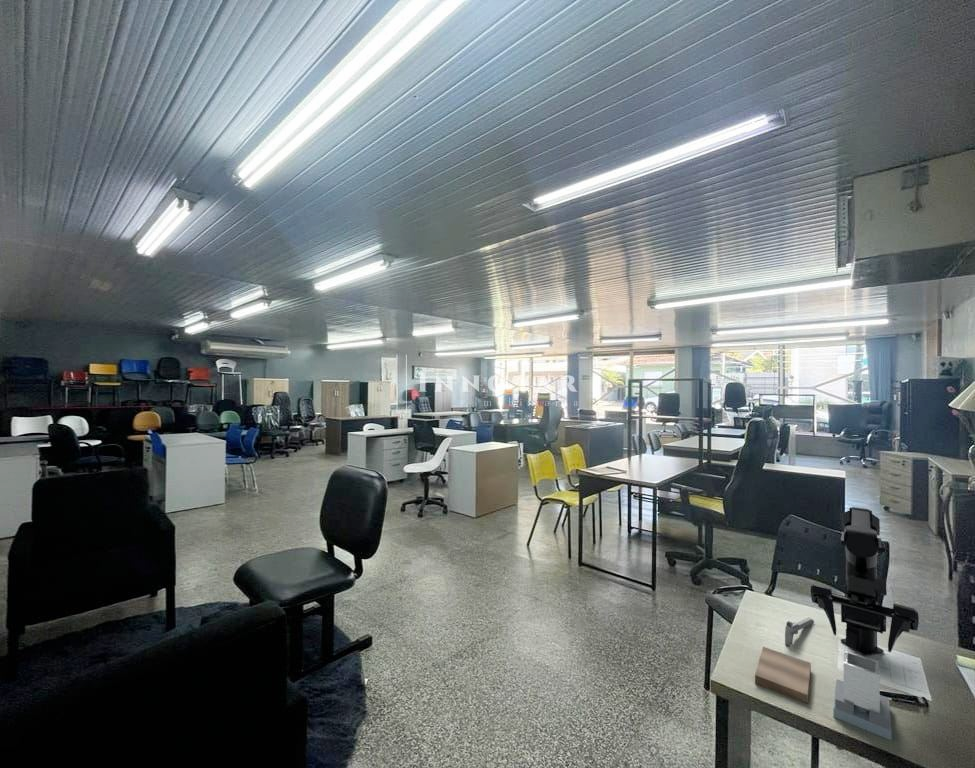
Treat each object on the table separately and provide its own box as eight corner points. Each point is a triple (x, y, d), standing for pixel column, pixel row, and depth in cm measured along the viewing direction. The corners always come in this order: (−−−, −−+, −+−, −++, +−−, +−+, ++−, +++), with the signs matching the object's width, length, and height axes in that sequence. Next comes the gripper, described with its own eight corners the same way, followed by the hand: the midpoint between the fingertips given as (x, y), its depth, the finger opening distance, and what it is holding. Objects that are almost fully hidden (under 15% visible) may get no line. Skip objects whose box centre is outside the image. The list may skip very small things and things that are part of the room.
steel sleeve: (844, 686, 93) (844, 650, 93) (879, 698, 89) (878, 661, 89) (843, 700, 89) (843, 663, 89) (879, 714, 85) (879, 675, 85)
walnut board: (763, 654, 110) (763, 646, 110) (810, 670, 104) (810, 662, 104) (755, 683, 100) (755, 674, 100) (807, 703, 93) (807, 694, 93)
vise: (836, 688, 98) (835, 659, 98) (889, 708, 92) (888, 677, 92) (833, 716, 90) (833, 684, 90) (891, 740, 84) (891, 705, 84)
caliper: (789, 648, 113) (789, 625, 113) (784, 646, 114) (784, 623, 114) (813, 621, 126) (813, 601, 126) (809, 620, 127) (809, 599, 126)
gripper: (811, 551, 104) (806, 613, 96) (917, 573, 92) (923, 646, 84) (814, 571, 110) (810, 631, 102) (914, 595, 98) (919, 666, 90)
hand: (861, 642), depth 94 cm, fingers open, 9 cm apart
